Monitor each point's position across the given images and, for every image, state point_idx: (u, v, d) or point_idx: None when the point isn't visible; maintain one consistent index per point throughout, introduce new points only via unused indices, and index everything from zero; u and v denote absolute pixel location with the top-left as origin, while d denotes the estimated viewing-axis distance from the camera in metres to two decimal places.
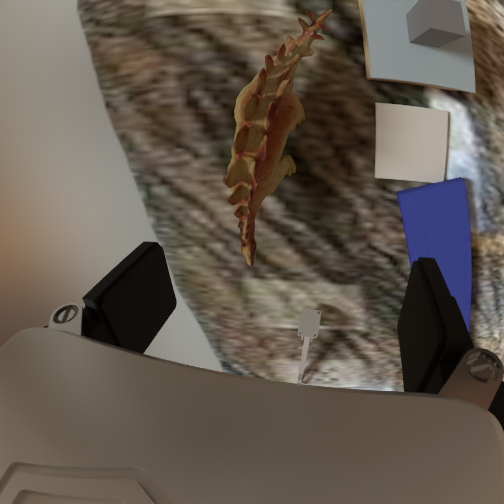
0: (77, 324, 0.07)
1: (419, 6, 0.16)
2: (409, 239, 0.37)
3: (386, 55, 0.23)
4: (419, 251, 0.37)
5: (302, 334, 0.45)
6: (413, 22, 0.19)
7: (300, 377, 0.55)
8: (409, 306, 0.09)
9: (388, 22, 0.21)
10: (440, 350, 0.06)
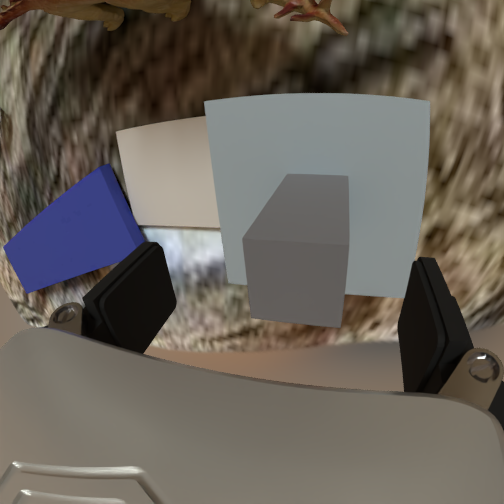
0: (77, 324, 0.07)
1: (332, 214, 0.11)
2: (68, 193, 0.29)
3: (251, 127, 0.16)
4: (63, 209, 0.30)
5: None
6: (313, 189, 0.14)
7: None
8: (409, 306, 0.09)
9: (325, 136, 0.15)
10: (440, 350, 0.06)
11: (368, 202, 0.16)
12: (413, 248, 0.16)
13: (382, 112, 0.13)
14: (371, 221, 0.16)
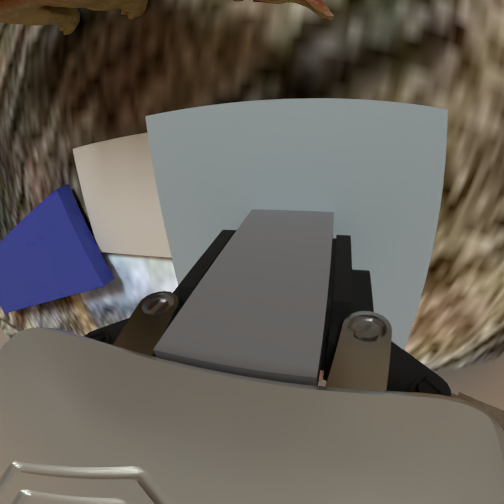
0: (163, 321, 0.07)
1: (300, 299, 0.07)
2: (30, 216, 0.24)
3: (203, 148, 0.12)
4: (28, 232, 0.26)
5: None
6: (281, 241, 0.10)
7: None
8: None
9: (302, 159, 0.11)
10: (328, 310, 0.07)
11: (360, 246, 0.12)
12: (415, 300, 0.13)
13: (383, 124, 0.09)
14: (363, 269, 0.13)
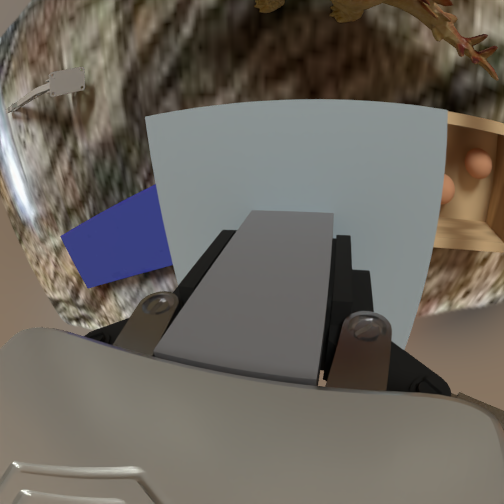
0: (163, 322, 0.07)
1: (300, 300, 0.07)
2: None
3: (203, 149, 0.12)
4: None
5: (51, 78, 0.24)
6: (281, 242, 0.10)
7: (13, 106, 0.31)
8: None
9: (302, 160, 0.11)
10: (328, 310, 0.07)
11: (360, 247, 0.12)
12: (415, 301, 0.13)
13: (383, 125, 0.09)
14: None
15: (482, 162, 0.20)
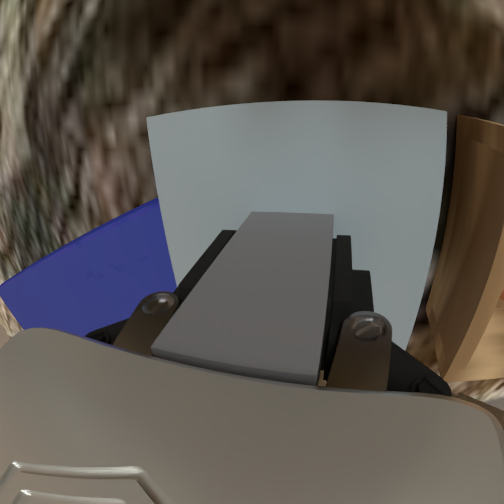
0: (163, 321, 0.07)
1: (300, 298, 0.07)
2: (98, 236, 0.18)
3: (203, 150, 0.12)
4: (89, 259, 0.19)
5: None
6: (281, 242, 0.10)
7: None
8: None
9: (302, 161, 0.11)
10: (329, 310, 0.07)
11: (360, 249, 0.12)
12: (416, 303, 0.12)
13: (383, 126, 0.10)
14: None
15: None
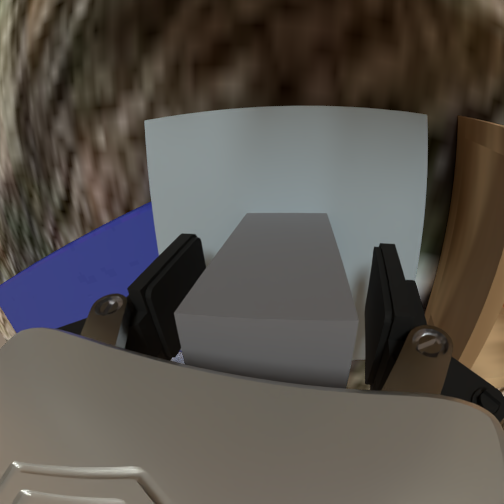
0: (117, 319, 0.07)
1: (318, 267, 0.07)
2: (91, 239, 0.18)
3: (201, 152, 0.12)
4: (82, 262, 0.19)
5: None
6: (284, 231, 0.10)
7: None
8: (371, 289, 0.10)
9: (297, 162, 0.12)
10: (388, 326, 0.07)
11: (352, 246, 0.13)
12: None
13: (370, 129, 0.11)
14: (355, 270, 0.13)
15: None
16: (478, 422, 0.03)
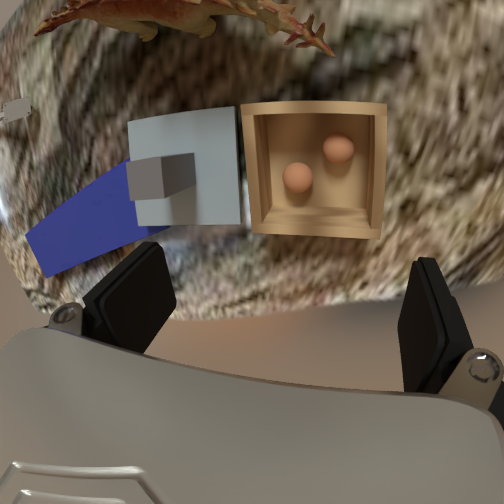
0: (76, 324, 0.07)
1: (165, 156, 0.25)
2: (101, 179, 0.35)
3: (148, 133, 0.30)
4: (96, 193, 0.36)
5: (5, 108, 0.29)
6: (168, 155, 0.27)
7: None
8: (409, 306, 0.09)
9: (182, 133, 0.29)
10: (440, 350, 0.06)
11: (205, 165, 0.30)
12: (236, 189, 0.31)
13: (209, 116, 0.28)
14: (208, 175, 0.30)
15: (335, 146, 0.25)
16: (478, 422, 0.03)
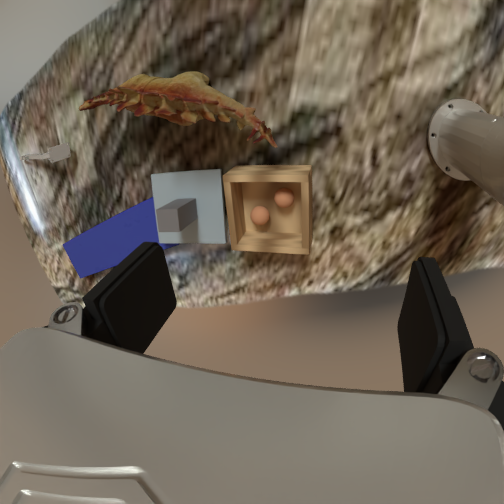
0: (77, 324, 0.07)
1: (179, 205, 0.43)
2: (131, 209, 0.54)
3: (165, 183, 0.48)
4: (127, 218, 0.55)
5: (50, 151, 0.48)
6: (180, 201, 0.46)
7: (26, 158, 0.54)
8: (409, 306, 0.09)
9: (187, 185, 0.48)
10: (440, 350, 0.06)
11: (203, 206, 0.49)
12: (222, 221, 0.49)
13: (205, 175, 0.47)
14: (205, 213, 0.49)
15: (280, 198, 0.43)
16: (478, 422, 0.03)
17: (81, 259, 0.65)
